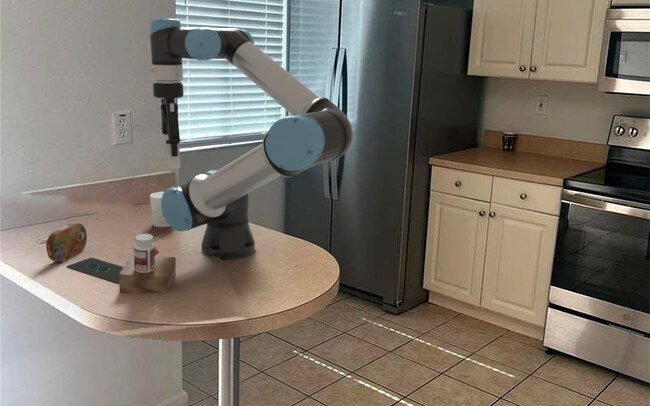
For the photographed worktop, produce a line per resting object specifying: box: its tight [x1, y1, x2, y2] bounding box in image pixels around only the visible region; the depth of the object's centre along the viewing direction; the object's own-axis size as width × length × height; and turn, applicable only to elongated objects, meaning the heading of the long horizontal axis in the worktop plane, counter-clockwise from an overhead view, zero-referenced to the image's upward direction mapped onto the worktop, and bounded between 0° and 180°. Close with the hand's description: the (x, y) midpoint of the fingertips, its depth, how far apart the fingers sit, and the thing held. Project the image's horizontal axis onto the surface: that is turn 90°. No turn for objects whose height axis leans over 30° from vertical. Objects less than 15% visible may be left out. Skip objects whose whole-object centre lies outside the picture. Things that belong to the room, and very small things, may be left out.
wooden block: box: [118, 254, 177, 294], centre depth 148 cm, size 11×11×5 cm
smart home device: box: [66, 257, 124, 285], centre depth 157 cm, size 8×2×20 cm
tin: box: [45, 222, 88, 263], centre depth 167 cm, size 15×3×8 cm, turn 168°
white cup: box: [149, 191, 171, 228], centre depth 196 cm, size 8×8×10 cm
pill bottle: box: [133, 233, 156, 273], centre depth 144 cm, size 5×5×8 cm
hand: (171, 163), depth 161 cm, fingers open, 13 cm apart
